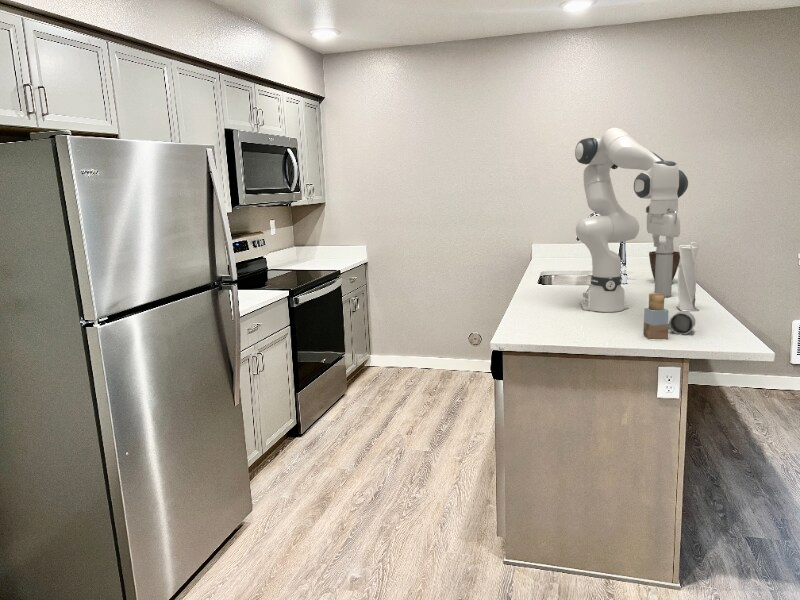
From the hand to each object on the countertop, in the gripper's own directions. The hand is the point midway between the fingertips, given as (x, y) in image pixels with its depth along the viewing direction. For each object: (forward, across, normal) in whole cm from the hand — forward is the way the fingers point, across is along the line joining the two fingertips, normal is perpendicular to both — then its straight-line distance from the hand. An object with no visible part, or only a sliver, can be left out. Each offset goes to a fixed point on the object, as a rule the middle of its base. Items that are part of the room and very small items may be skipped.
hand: (662, 248), depth 210 cm
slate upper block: (+24, -12, +6) cm, 28 cm away
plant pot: (+29, +93, -39) cm, 105 cm away
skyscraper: (+29, +30, -23) cm, 48 cm away
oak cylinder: (+19, -12, +6) cm, 23 cm away
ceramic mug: (+29, -6, -4) cm, 30 cm away
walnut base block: (+29, -12, +6) cm, 32 cm away
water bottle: (+29, +60, -25) cm, 71 cm away
